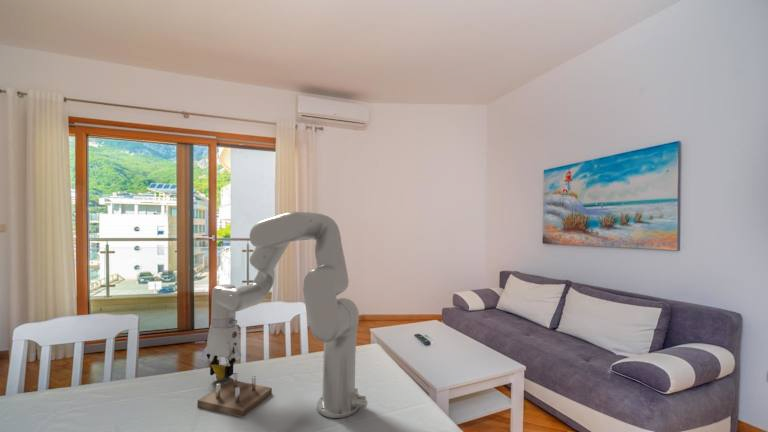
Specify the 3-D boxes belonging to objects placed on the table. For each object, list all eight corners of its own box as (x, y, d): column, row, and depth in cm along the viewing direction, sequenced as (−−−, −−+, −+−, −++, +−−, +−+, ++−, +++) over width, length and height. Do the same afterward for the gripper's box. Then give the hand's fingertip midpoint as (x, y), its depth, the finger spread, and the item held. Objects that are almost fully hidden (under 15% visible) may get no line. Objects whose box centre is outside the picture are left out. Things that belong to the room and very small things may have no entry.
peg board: (271, 393, 102) (272, 375, 102) (242, 417, 89) (243, 396, 89) (230, 385, 106) (231, 367, 107) (197, 406, 94) (198, 386, 94)
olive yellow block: (235, 380, 110) (217, 369, 104) (221, 386, 110) (202, 375, 104) (237, 366, 115) (219, 354, 108) (224, 371, 115) (205, 360, 108)
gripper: (251, 321, 111) (250, 374, 111) (212, 315, 116) (210, 366, 116) (235, 327, 104) (234, 384, 103) (194, 321, 109) (192, 375, 108)
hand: (221, 374), depth 109 cm, fingers closed on olive yellow block, 5 cm apart
